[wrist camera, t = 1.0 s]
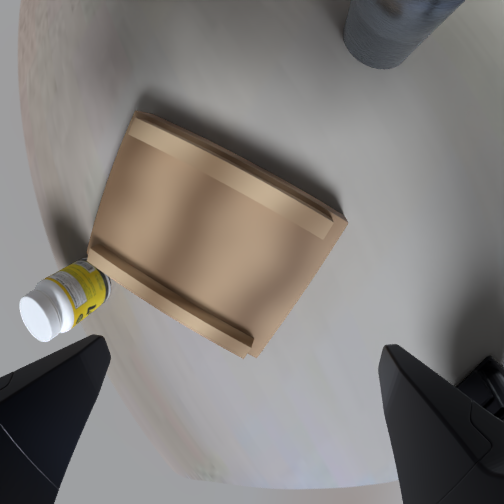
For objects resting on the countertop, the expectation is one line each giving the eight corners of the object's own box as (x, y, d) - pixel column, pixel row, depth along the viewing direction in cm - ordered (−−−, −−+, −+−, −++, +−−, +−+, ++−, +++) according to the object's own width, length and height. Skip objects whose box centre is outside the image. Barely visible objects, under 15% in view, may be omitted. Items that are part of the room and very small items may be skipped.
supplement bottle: (90, 308, 27) (37, 350, 19) (68, 267, 26) (9, 300, 19) (120, 294, 26) (63, 341, 18) (96, 249, 25) (31, 283, 17)
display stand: (344, 215, 20) (351, 227, 17) (261, 340, 25) (253, 367, 21) (152, 113, 21) (125, 108, 17) (103, 244, 25) (77, 257, 21)
